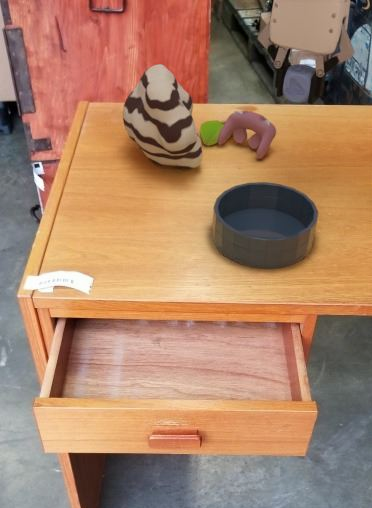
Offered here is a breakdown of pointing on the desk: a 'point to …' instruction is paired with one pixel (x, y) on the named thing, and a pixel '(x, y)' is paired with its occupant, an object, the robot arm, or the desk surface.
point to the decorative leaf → (211, 132)
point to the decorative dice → (298, 83)
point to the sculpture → (163, 120)
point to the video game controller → (250, 121)
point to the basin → (264, 224)
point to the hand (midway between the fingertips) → (297, 95)
